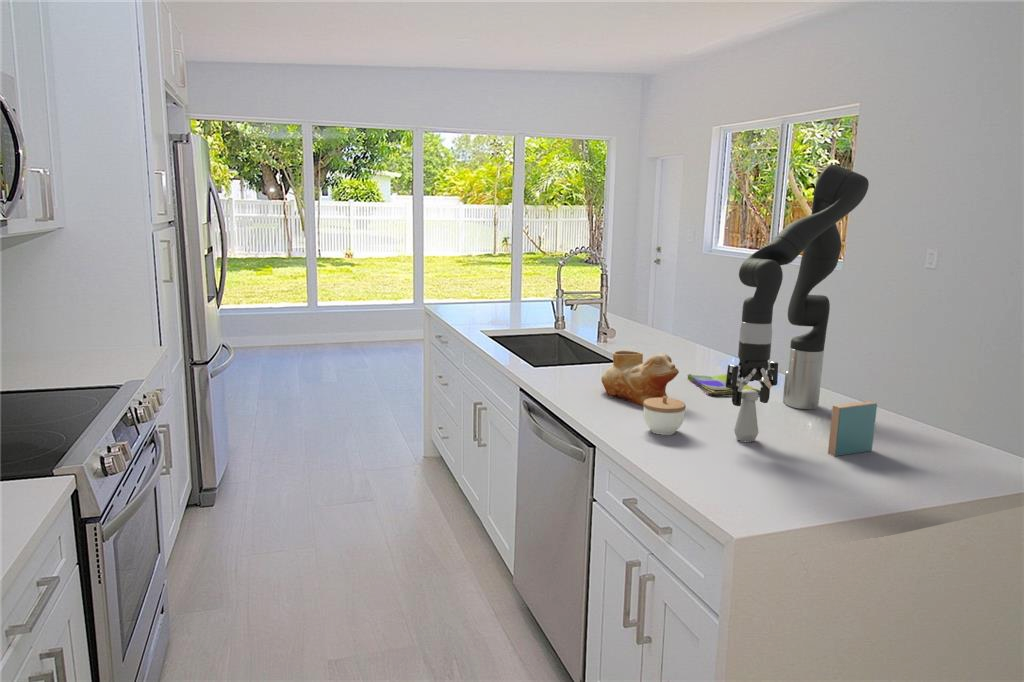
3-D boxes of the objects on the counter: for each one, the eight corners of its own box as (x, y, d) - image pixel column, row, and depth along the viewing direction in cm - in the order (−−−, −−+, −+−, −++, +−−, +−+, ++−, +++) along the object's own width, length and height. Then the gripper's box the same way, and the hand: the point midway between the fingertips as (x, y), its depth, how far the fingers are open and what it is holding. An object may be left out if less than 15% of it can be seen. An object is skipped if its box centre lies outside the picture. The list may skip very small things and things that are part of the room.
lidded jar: (653, 439, 179) (655, 403, 177) (635, 426, 189) (636, 392, 187) (691, 436, 182) (693, 401, 180) (671, 424, 192) (673, 390, 190)
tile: (827, 453, 170) (832, 405, 168) (864, 448, 175) (869, 401, 173) (835, 456, 168) (840, 408, 166) (872, 450, 173) (877, 403, 171)
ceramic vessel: (657, 411, 204) (660, 360, 201) (591, 392, 223) (593, 345, 221) (686, 403, 212) (690, 354, 209) (621, 385, 232) (623, 341, 229)
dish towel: (734, 379, 245) (735, 371, 245) (764, 398, 221) (764, 389, 221) (685, 379, 244) (685, 372, 243) (709, 398, 220) (709, 390, 220)
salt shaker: (741, 444, 176) (745, 393, 174) (729, 437, 181) (732, 387, 179) (762, 442, 178) (766, 392, 175) (749, 435, 183) (753, 386, 181)
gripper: (766, 336, 181) (761, 398, 183) (721, 339, 175) (717, 402, 178) (788, 341, 174) (783, 405, 177) (742, 344, 168) (737, 410, 171)
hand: (750, 403), depth 177 cm, fingers open, 8 cm apart
